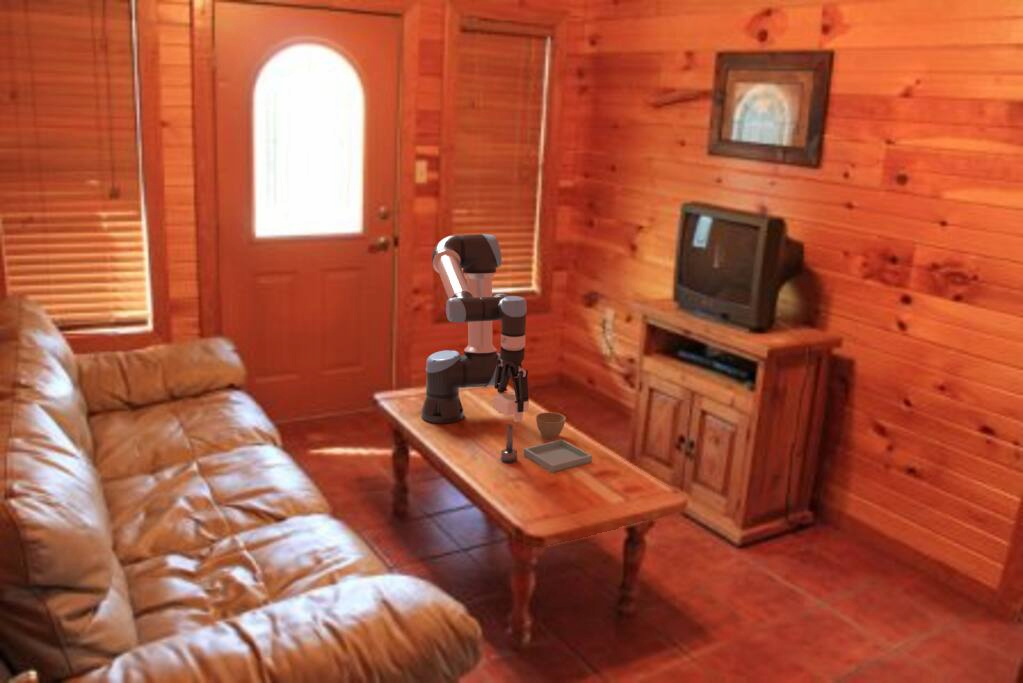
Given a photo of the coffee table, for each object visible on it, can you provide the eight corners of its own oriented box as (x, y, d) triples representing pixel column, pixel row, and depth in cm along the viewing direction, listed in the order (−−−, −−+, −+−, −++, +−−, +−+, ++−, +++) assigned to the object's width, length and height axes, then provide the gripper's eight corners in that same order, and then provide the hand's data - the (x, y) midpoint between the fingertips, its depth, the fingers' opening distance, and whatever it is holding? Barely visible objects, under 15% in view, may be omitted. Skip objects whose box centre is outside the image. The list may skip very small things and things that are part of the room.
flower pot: (562, 444, 291) (563, 424, 289) (532, 440, 293) (533, 420, 291) (566, 433, 301) (567, 413, 299) (538, 430, 302) (538, 410, 300)
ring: (492, 407, 273) (493, 395, 272) (513, 403, 278) (514, 391, 276) (507, 415, 267) (507, 403, 266) (528, 411, 271) (528, 399, 270)
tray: (523, 455, 281) (523, 448, 280) (561, 445, 290) (562, 439, 289) (552, 473, 269) (552, 465, 268) (591, 462, 277) (592, 455, 277)
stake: (498, 459, 278) (499, 424, 274) (511, 455, 280) (512, 421, 277) (506, 464, 274) (508, 429, 270) (519, 461, 276) (521, 426, 273)
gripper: (484, 340, 273) (482, 408, 279) (522, 357, 256) (519, 429, 263) (503, 336, 277) (501, 404, 283) (542, 354, 260) (539, 425, 267)
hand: (510, 416), depth 273 cm, fingers closed on ring, 8 cm apart
